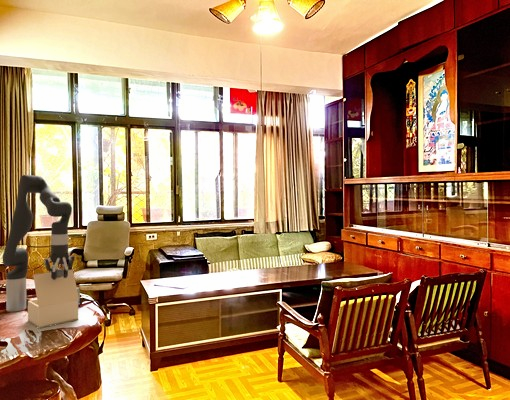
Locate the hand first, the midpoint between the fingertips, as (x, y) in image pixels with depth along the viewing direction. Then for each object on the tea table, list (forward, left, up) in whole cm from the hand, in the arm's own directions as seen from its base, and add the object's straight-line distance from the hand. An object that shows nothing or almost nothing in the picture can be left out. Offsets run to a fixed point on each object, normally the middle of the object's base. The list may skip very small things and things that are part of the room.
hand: (59, 278), depth 187 cm
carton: (-8, 0, -22) cm, 24 cm away
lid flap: (-4, 0, -5) cm, 7 cm away
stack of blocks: (-26, +12, -23) cm, 37 cm away
